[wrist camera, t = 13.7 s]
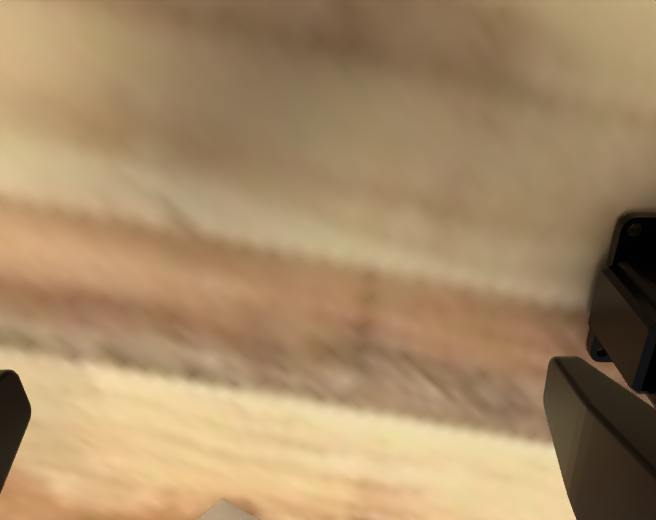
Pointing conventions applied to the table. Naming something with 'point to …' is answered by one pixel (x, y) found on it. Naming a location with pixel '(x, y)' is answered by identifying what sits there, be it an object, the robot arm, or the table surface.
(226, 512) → the letter block
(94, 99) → the table surface
